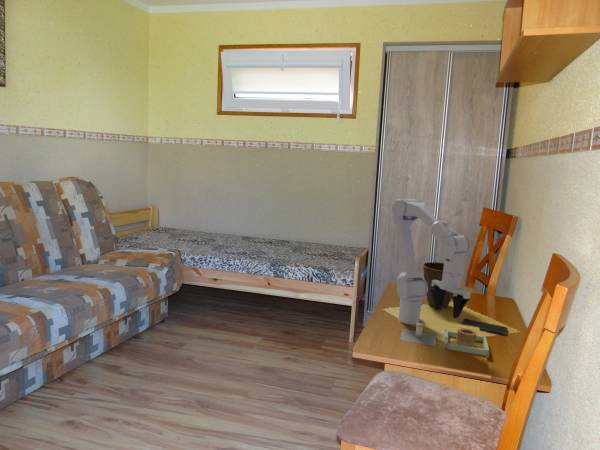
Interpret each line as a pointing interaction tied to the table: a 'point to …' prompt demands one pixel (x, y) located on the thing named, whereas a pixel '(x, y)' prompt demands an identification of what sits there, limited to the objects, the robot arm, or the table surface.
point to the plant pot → (435, 273)
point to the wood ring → (466, 337)
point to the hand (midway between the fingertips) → (446, 313)
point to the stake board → (416, 340)
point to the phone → (486, 326)
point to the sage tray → (466, 348)
